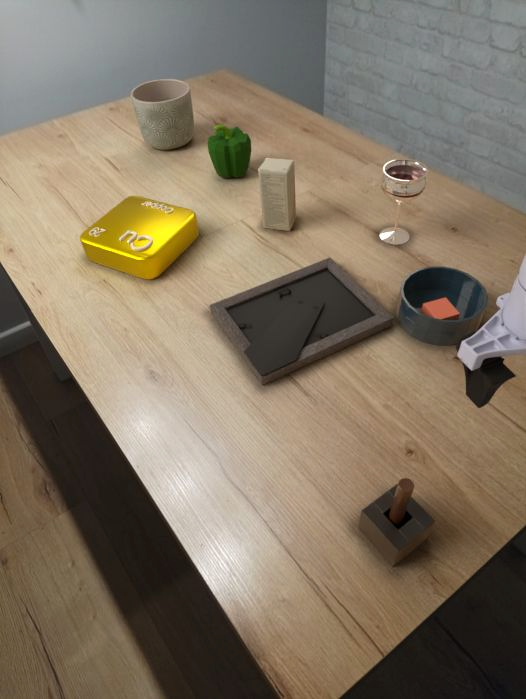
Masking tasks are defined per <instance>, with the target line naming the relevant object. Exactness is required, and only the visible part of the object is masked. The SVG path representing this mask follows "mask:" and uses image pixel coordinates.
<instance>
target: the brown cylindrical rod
mask: <svg viewBox="0 0 526 699" xmlns="http://www.w3.org/2000/svg"><path fill="white" fill-rule="evenodd" d="M397 483H398V485H397V489H396V492H395V496H394V499H393V502H392V506H391V509H390V513H389V516H388V520H389V521H390V522H391V523H392V524H393V525H394V526H395V527H396V528H397V529H400V528H401V524H402V521H403V519H404V516H405V513H406V510H407V507H408V504H409V501H410V498H411V497H412V496H413V492H414V490H415V483H414V482H413V480H412V479H410V478H408V477H402V478H400V479H399V481H398V482H397Z"/></svg>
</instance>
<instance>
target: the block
mask: <svg viewBox="0 0 526 699" xmlns="http://www.w3.org/2000/svg"><path fill="white" fill-rule="evenodd" d="M421 313H423V314H425V315H427V316H430V317H432V318H437V319H442V320H458V319H459V315H460V313H459V312H458V311H457V310H456V309H455V307H454V306H453V305H452V304H451V303H450V302H449V300H448V299H447V298H446V297H445V298H442V299H438V300H434V301H431V302H427V303H423V306H422V310H421Z"/></svg>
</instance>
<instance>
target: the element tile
mask: <svg viewBox="0 0 526 699" xmlns="http://www.w3.org/2000/svg"><path fill="white" fill-rule="evenodd" d="M199 235H200V228H199V224H198V216H197V214H196V212H195V211H194V210H191V209H190V208H184V207H182V206H177V205H174V204H170V203H167V202H163V201H159V200H155V199H153V198H152V199H151V198H148V197H145V196H140V195H129V196H127V197H126V198H124V199H123V200H121V201H120V202H119V203H117V205H115V206H114V207H112V209H110V210H109V211H108V212H107V213H105V214H104V215H102V216H101V217H99V219H98V220H96V221H95V222H94V223H93V224H92V225H90V226H89V227H87V228H86V229H85V230H84V231H83V232H82V233H81V234H80V235H79V240H80V244H81V247H82V248H83V252H84V254H85V256H86V259H88V260H89V261H90V262H92V263H95V264H98V265H101V266H104V267H107V268H111V269H113V270H116V271H119V272H121V273H125V274H127V275H131V276H134V277H136V278H140V279H143V280H153V279H156V278H158V277H160V276H161V275H162V274H163V273H164V272H165V271H166V270H167V269H168V268H169V267H170V266H171V265H172V264H173V263H174V262H175V261H176V260H177V259H178V258H179V257H180V256H182V254H183V253H184V252H185V251H186V250H187V249H188V248H189V247H190V246H191V245H192V244H193V243H194V242H195V241H196V240H197V239H198V238H199Z"/></svg>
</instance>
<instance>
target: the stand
mask: <svg viewBox="0 0 526 699" xmlns="http://www.w3.org/2000/svg"><path fill="white" fill-rule="evenodd" d="M397 485H398V482H397V483H395V485H393V486H392V487H390V488H389V489H388V490H387V491H385V492H384V493H383V494H381V495H380V496H379V497H377V498H376V499H374V500H373V501H372V502H370V503H369V504H368V505H367V506H365V507H364V508H362V509H361V511H360V516H359V520H358V525H357V528H358V530H360V531H361V533H362V534H363V535H364V536H365V538H366V539H367V540H368V541H369V542H370V543H371V544H372V546H373V547H374V548H375V549H376V550H377V552H379V554H380V555H381V556H382V557H383V558H384V560H386V562H387V563H388V564H389V565H390V566H391V567H392V568H393V567H394V566H396V565H397V564H398V563H399V562H400V561H401V560H403V559H405V557H407V555H409V554H410V553H411V552H412V551H414V550H415V549H416V548H417V547H419V546H420V545H421V544H422V543H423V542H424V541H426V540H427V539H428V538H429V536H430V534H431V531H432V530H433V527H434V525H435V523H436V520H435V519H434V518H433V517H432V515H430V514H429V513H428V512H427V511H426V510H425V509H424V508H423V506H421V505H420V503H418V502H417V501H416V499H414V498H413V497H412V496H411V498H410V501H409V504H408V507H407V510H406V513H405V516H404V519H403V521H402V524H401V527H400V529H397V528H396V527H395V526H394V525H393V524H392V523H391V522H390V521H389V520H388V516H389V513H390V509H391V506H392V502H393V499H394V496H395V492H396V489H397Z"/></svg>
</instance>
